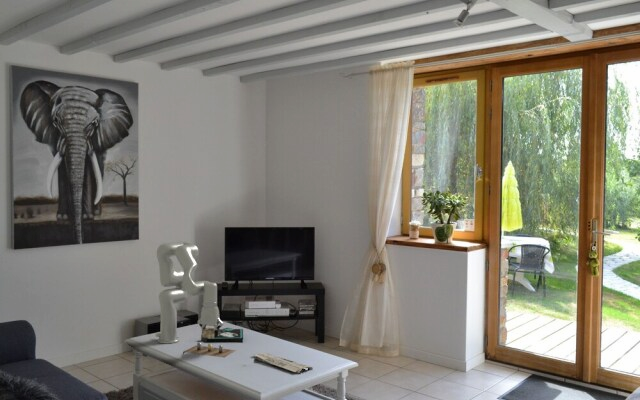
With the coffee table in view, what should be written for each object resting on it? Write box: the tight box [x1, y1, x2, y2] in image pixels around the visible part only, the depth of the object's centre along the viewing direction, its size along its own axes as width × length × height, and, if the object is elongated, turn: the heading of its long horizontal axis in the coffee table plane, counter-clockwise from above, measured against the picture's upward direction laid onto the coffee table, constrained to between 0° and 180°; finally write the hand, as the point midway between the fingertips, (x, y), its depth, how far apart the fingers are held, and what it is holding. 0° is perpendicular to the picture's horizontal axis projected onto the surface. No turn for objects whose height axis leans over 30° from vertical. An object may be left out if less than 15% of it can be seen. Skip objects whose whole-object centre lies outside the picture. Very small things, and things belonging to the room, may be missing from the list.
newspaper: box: [254, 352, 313, 374], centre depth 311 cm, size 35×12×4 cm, turn 49°
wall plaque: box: [200, 327, 244, 344], centre depth 357 cm, size 30×4×30 cm
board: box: [182, 342, 237, 358], centre depth 328 cm, size 26×14×5 cm, turn 71°
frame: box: [201, 326, 219, 338], centre depth 327 cm, size 7×7×4 cm
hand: (210, 335), depth 327 cm, fingers closed on frame, 7 cm apart
